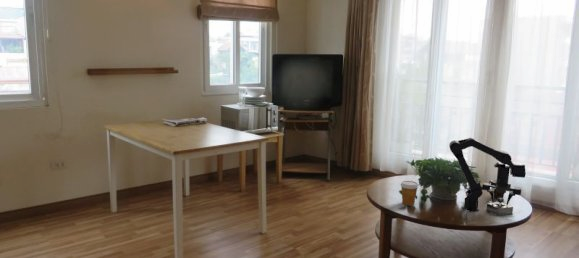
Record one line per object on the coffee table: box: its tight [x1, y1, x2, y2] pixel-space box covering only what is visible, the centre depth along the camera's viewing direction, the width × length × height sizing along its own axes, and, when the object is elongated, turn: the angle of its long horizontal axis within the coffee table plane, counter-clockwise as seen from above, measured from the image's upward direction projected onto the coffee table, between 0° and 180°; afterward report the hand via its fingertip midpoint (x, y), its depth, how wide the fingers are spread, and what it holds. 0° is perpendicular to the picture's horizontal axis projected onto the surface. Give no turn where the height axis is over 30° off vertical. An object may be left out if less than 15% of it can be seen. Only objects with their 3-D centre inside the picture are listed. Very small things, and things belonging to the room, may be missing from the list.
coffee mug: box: [488, 179, 505, 200], centre depth 278 cm, size 12×9×10 cm
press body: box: [485, 200, 514, 217], centre depth 253 cm, size 9×12×4 cm
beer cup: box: [400, 180, 419, 207], centre depth 262 cm, size 10×10×12 cm
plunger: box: [496, 197, 504, 206], centre depth 252 cm, size 3×3×7 cm
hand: (499, 204), depth 252 cm, fingers open, 6 cm apart
